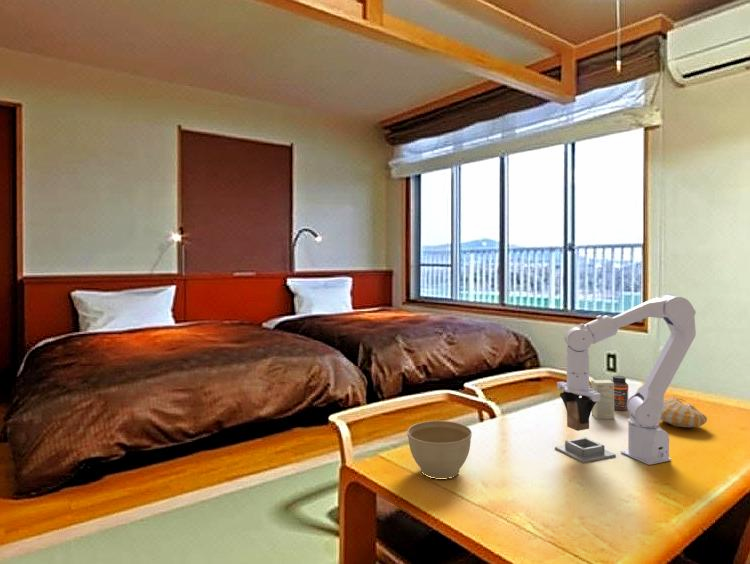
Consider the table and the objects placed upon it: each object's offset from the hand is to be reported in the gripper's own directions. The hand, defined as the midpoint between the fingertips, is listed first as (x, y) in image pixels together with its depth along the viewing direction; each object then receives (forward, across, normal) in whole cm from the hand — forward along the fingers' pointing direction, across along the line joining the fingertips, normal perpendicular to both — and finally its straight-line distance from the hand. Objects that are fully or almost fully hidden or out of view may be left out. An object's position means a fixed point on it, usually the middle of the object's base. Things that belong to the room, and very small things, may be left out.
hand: (578, 420), depth 144 cm
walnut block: (+2, 0, 0) cm, 2 cm away
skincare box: (+9, -21, +29) cm, 37 cm away
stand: (+9, +1, +1) cm, 9 cm away
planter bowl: (+9, -3, -41) cm, 42 cm away
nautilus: (+9, -6, +46) cm, 47 cm away
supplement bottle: (+9, -26, +41) cm, 49 cm away
